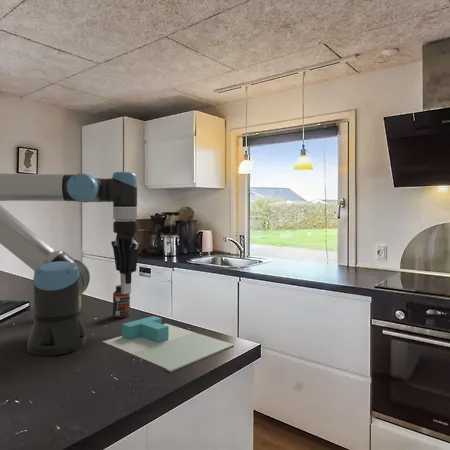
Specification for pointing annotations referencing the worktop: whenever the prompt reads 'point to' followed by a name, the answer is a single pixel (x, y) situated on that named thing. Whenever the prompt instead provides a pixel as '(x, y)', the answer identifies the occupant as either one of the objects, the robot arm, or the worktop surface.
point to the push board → (172, 348)
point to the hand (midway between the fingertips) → (126, 293)
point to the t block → (146, 329)
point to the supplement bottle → (121, 303)
